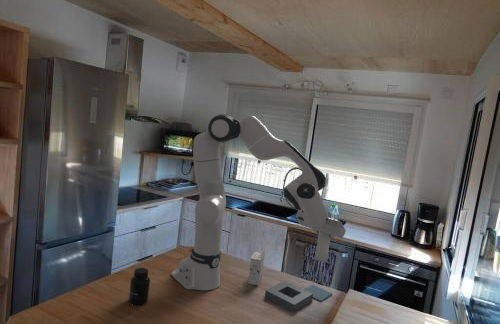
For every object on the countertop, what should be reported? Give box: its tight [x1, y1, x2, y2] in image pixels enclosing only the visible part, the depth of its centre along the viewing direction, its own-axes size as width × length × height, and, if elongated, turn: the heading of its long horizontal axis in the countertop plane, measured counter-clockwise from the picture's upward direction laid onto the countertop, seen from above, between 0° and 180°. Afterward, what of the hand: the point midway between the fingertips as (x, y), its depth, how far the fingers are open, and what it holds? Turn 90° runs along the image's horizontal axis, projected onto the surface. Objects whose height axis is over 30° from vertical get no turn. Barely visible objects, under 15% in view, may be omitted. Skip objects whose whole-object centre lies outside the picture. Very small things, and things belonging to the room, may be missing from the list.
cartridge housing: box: [264, 280, 314, 313], centre depth 140 cm, size 14×14×3 cm
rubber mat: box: [303, 284, 333, 303], centre depth 147 cm, size 10×10×1 cm
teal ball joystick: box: [314, 231, 331, 263], centre depth 145 cm, size 5×5×14 cm
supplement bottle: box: [128, 267, 151, 306], centre depth 124 cm, size 7×7×12 cm
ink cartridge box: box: [248, 247, 266, 286], centre depth 152 cm, size 9×5×15 cm, turn 168°
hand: (325, 234), depth 145 cm, fingers closed on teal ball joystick, 5 cm apart
